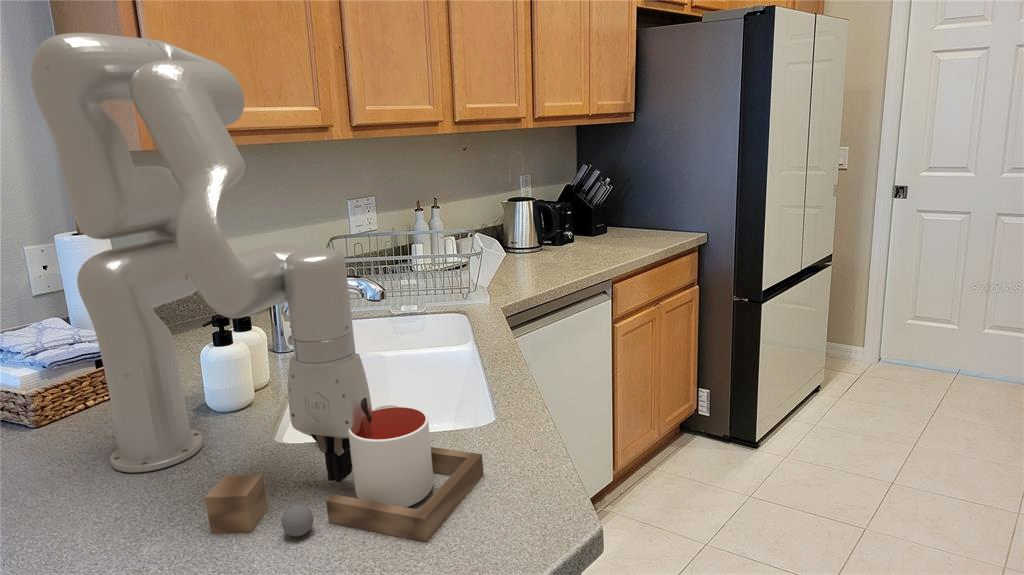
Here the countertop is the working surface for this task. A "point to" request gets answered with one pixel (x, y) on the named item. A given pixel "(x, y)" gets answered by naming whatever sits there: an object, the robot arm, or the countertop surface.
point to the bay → (408, 520)
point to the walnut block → (236, 504)
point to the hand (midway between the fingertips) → (340, 476)
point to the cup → (393, 458)
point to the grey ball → (297, 520)
